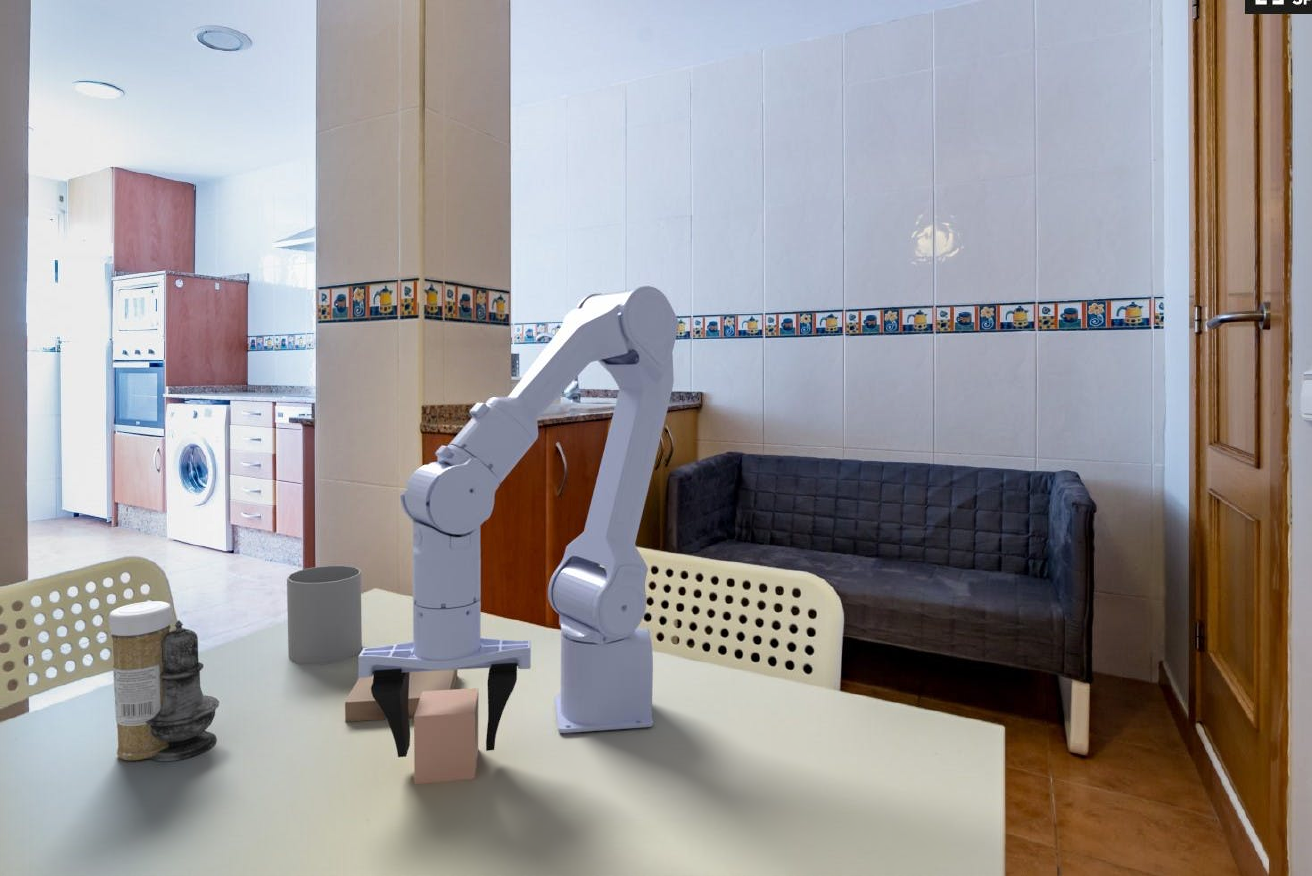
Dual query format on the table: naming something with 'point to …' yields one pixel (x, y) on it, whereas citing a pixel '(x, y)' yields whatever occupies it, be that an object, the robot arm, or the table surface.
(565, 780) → the table surface
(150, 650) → the sprinkles bottle
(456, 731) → the block
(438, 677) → the board
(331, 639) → the cup
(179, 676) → the salt shaker
